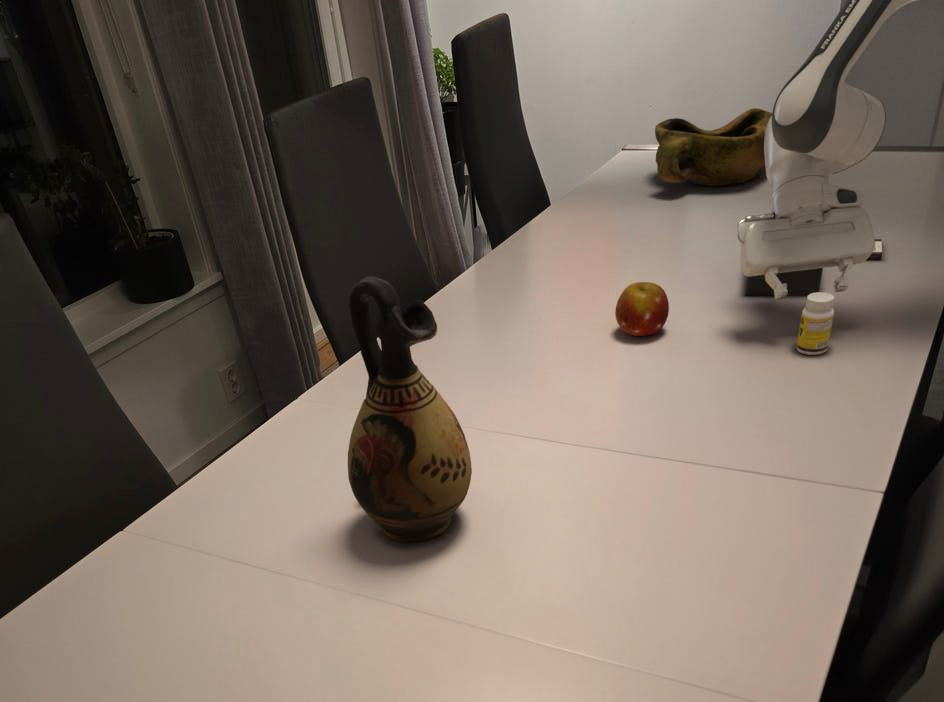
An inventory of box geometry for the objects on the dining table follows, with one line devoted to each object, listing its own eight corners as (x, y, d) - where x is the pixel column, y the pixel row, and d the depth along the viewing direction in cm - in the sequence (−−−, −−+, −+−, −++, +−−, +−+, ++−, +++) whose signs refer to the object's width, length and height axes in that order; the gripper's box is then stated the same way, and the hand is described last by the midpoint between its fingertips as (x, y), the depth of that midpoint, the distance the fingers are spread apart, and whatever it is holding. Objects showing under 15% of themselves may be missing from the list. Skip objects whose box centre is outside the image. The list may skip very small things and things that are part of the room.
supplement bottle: (798, 342, 137) (807, 290, 131) (829, 344, 135) (839, 291, 130) (793, 354, 134) (802, 301, 128) (824, 356, 132) (834, 303, 126)
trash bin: (817, 271, 159) (826, 215, 153) (818, 295, 151) (828, 237, 144) (748, 271, 163) (754, 217, 156) (745, 295, 154) (751, 239, 148)
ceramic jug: (502, 514, 108) (482, 275, 88) (414, 571, 100) (370, 324, 81) (415, 474, 118) (380, 251, 98) (329, 523, 110) (272, 293, 91)
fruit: (666, 343, 142) (669, 295, 137) (613, 344, 144) (613, 297, 139) (668, 321, 149) (670, 274, 144) (616, 322, 151) (617, 276, 146)
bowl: (680, 156, 232) (681, 94, 222) (789, 154, 219) (795, 87, 208) (627, 210, 210) (625, 144, 200) (745, 210, 197) (749, 139, 186)
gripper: (741, 206, 130) (751, 291, 129) (873, 190, 129) (884, 276, 129) (730, 228, 137) (739, 310, 136) (856, 213, 136) (867, 295, 135)
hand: (811, 293), depth 132 cm, fingers open, 8 cm apart
